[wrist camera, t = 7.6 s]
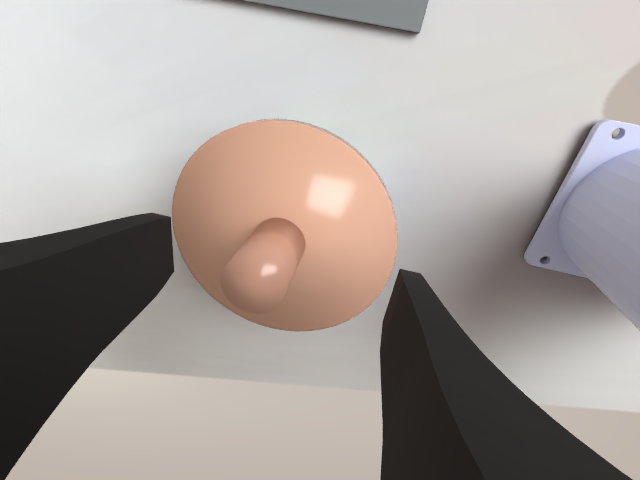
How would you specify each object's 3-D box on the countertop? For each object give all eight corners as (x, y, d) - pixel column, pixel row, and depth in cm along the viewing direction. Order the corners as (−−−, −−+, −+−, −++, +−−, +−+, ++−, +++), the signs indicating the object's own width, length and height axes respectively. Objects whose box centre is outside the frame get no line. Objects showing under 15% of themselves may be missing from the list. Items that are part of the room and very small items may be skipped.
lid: (424, 140, 13) (439, 170, 9) (372, 338, 18) (368, 413, 14) (172, 101, 14) (90, 113, 10) (188, 299, 19) (137, 358, 15)
